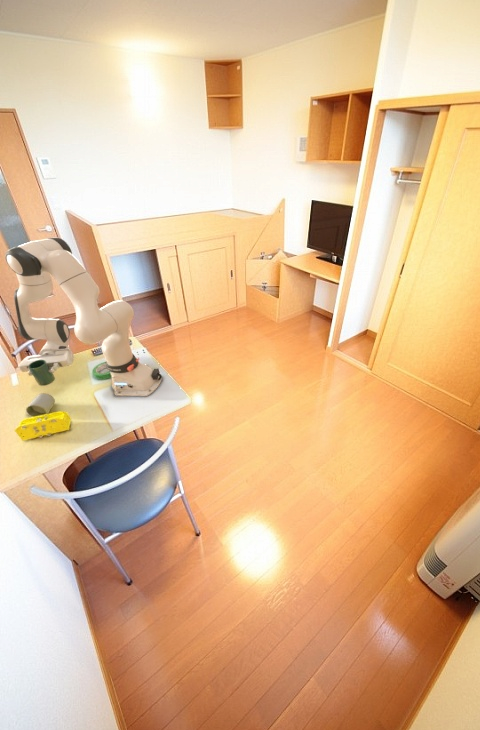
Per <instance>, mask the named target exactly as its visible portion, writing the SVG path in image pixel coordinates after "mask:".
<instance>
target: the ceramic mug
mask: <svg viewBox="0 0 480 730" xmlns="http://www.w3.org/2000/svg"><path fill="white" fill-rule="evenodd" d="M55 399H56V398H55V397H54V396H52V395H51V394H50V393H39V394H38V395H36V396H35V397H34V398H33V400H32V401H31V402H30V403H29V404H28V405H26V407H25V414H26V415H28V416H30V417H36V416H40V415H45V414H49V413H50V411H51V410H52V408H53V407H54V405H55V402H56V400H55Z"/></svg>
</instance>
